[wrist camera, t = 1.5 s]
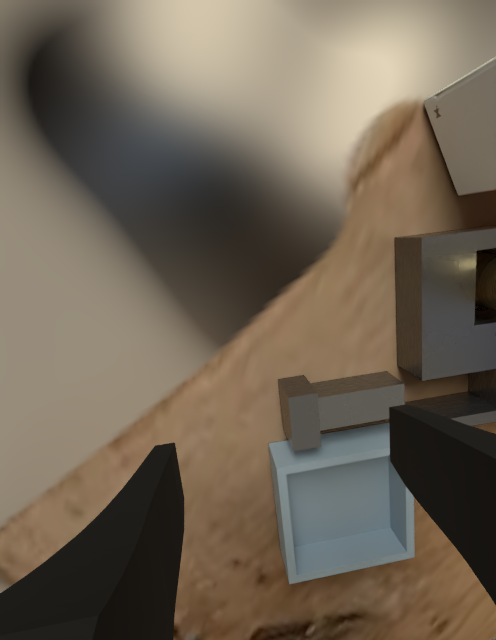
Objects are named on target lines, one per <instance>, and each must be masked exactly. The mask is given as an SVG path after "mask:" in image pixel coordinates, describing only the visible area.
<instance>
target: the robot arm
mask: <svg viewBox="0 0 496 640" xmlns="http://www.w3.org/2000/svg"><path fill="white" fill-rule="evenodd" d="M389 430H390V461H391V463H392V465H393V466H394V468H395V470H396V471H397V473H398V475H399V476H400V478H401V480H402V481H403V483H404V484H405V486H406V487H407V488H408V490H409V491H410V492H411V494H412V495H413V496H414V497H415V499H416V500H417V501H418V502H419V503H420V505H421V506H422V507H423V508H424V510H425V511H426V512H427V513H428V514H429V516H430V517H431V518H432V519H433V520H434V522H435V523H436V524H437V525H438V527H439V528H440V529H441V530H442V531H443V533H444V534H445V535H446V536H447V537H448V539H449V540H450V541H451V542H452V543H453V545H454V546H455V547H456V548H457V550H458V551H459V552H460V554H461V555H462V556H463V558H464V559H465V560H466V562H467V563H468V565H469V566H470V567H471V569H472V570H473V572H474V573H475V575H476V576H477V578H478V579H479V581H480V582H481V584H482V585H483V586H484V588H485V589H486V591H487V592H488V594H489V595H490V597H491V598H492V600H493V602H494V603H495V605H496V434H494V433H490V432H487V431H484V430H481V429H478V428H475V427H472V426H469V425H466V424H463V423H461V422H458V421H455V420H452V419H449V418H447V417H444V416H441V415H438V414H436V413H433V412H430V411H427V410H424V409H421V408H418V407H415V406H411V405H407V404H405V405H399V406H393V407H389ZM183 534H184V495H183V489H182V483H181V477H180V471H179V465H178V459H177V453H176V448H175V443H169V444H163V445H157V446H155V447H154V448H153V449H152V451H151V452H150V453H149V455H148V456H147V457H146V459H145V460H144V461H143V463H142V464H141V465H140V467H139V468H138V469H137V471H136V472H135V473H134V475H133V476H132V477H131V478H130V480H129V481H128V482H127V484H126V485H125V486H124V487H123V489H122V490H121V491H120V492H119V493H118V494H117V495H116V497H115V498H114V499H113V500H112V501H111V502H110V503H109V505H108V506H107V507H106V508H105V509H104V510H103V511H102V512H101V513H100V514H99V515H98V516H97V517H96V518H95V519H94V520H93V521H92V522H91V523H90V524H89V525H88V526H87V527H86V528H85V529H83V530H82V531H81V532H80V533H79V534H78V535H77V536H76V537H75V538H73V539H72V540H71V541H70V542H69V543H67V544H66V545H65V546H64V547H63V548H61V549H60V550H59V551H58V552H56V553H55V554H54V555H53V556H52V557H50V558H49V559H48V560H47V561H45V562H44V563H43V564H41V565H40V566H39V567H37V568H36V569H35V570H33V571H32V572H31V573H29V574H28V575H27V576H25V577H24V578H22V579H21V580H19V581H18V582H16V583H15V584H14V585H12V586H11V587H9V588H8V589H6V590H5V591H3V592H2V593H0V640H173V632H174V614H175V603H176V594H177V586H178V578H179V569H180V561H181V552H182V543H183ZM492 640H496V639H492Z"/></svg>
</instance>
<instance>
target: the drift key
mask: <svg viewBox="0 0 496 640" xmlns="http://www.w3.org/2000/svg"><path fill="white" fill-rule="evenodd" d="M278 385H279V395H280V405H281V414H282V424H283V429H284V431H285V434H286V436H287V438H288V441H289V443H290V445H291V448H292V450H293V452H294V451H300V450H305V449H311V448H316V447H322V445H321V432H320V431H322V430H327V429H333V428H339V427H344V426H350V425H356V424H362V423H367V422H373V421H379V420H384V419H389V407H393V406H399V405H405V395H404V383H403V382H401V381H400V380H398V379H397V378H396V377H394V376H393V375H391V374H390V373H388V372H387V371H385V372H379V373H373V374H367V375H360V376H354V377H348V378H342V379H336V380H329V381H323V382H317V383H311V384H310V382H309V381H308V380H307V378H306V377H305V376H304V375H302V376H296V377H289V378H283V379H278Z"/></svg>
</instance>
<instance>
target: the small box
mask: <svg viewBox="0 0 496 640" xmlns="http://www.w3.org/2000/svg"><path fill="white" fill-rule="evenodd" d="M424 105H425V108H426V111H427V113H428V116H429V119H430V122H431V125H432V127H433V130H434V133H435V135H436V138H437V141H438V143H439V146H440V149H441V152H442V154H443V157H444V159H445V162H446V165H447V168H448V170H449V173H450V176H451V178H452V181H453V184H454V186H455V189H456V191H457V194H458V195H459V196H463V195H469V194H475V193H481V192H487V191H494V190H496V57H494V58H493V59H491V60H490V61H488V62H486V63H485V64H483V65H481V66H480V67H478V68H476V69H475V70H473V71H471V72H470V73H468V74H467V75H465V76H463V77H462V78H460V79H459V80H457V81H455V82H453V83H452V84H450V85H448V86H447V87H445V88H444V89H442V90H440V91H438V92H436V93H435V94H433V95H431V96H429V97H428V98H426V99H425V100H424Z"/></svg>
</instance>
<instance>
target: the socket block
mask: <svg viewBox="0 0 496 640" xmlns="http://www.w3.org/2000/svg"><path fill="white" fill-rule="evenodd" d="M492 248H496V225H493V226H485V227H477V228H468V229H460V230H452V231H444V232H436V233H428V234H420V235H412V236H404V237H396V238H395V274H396V322H397V365H398V366H400V367H401V368H403V369H404V370H406V371H408V372H409V373H411V374H412V375H414V376H415V377H417V378H418V379H420V380H422V381H425V380H431V379H437V378H443V377H449V376H455V375H461V374H467V373H469V392H463V393H457V394H451V395H445V396H439V397H434V398H428V399H422V400H416V401H410V402H405V404H407V405H411V406H415V407H418V408H421V409H424V410H427V411H430V412H433V413H436V414H438V415H441V416H444V417H447V418H449V419H452V420H455V421H458V422H461V423H463V424H466V425H469V426H474V425H480V424H485V423H491V422H496V310H494V309H485V310H479V311H475V289H476V256H477V250H484V249H492Z"/></svg>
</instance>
